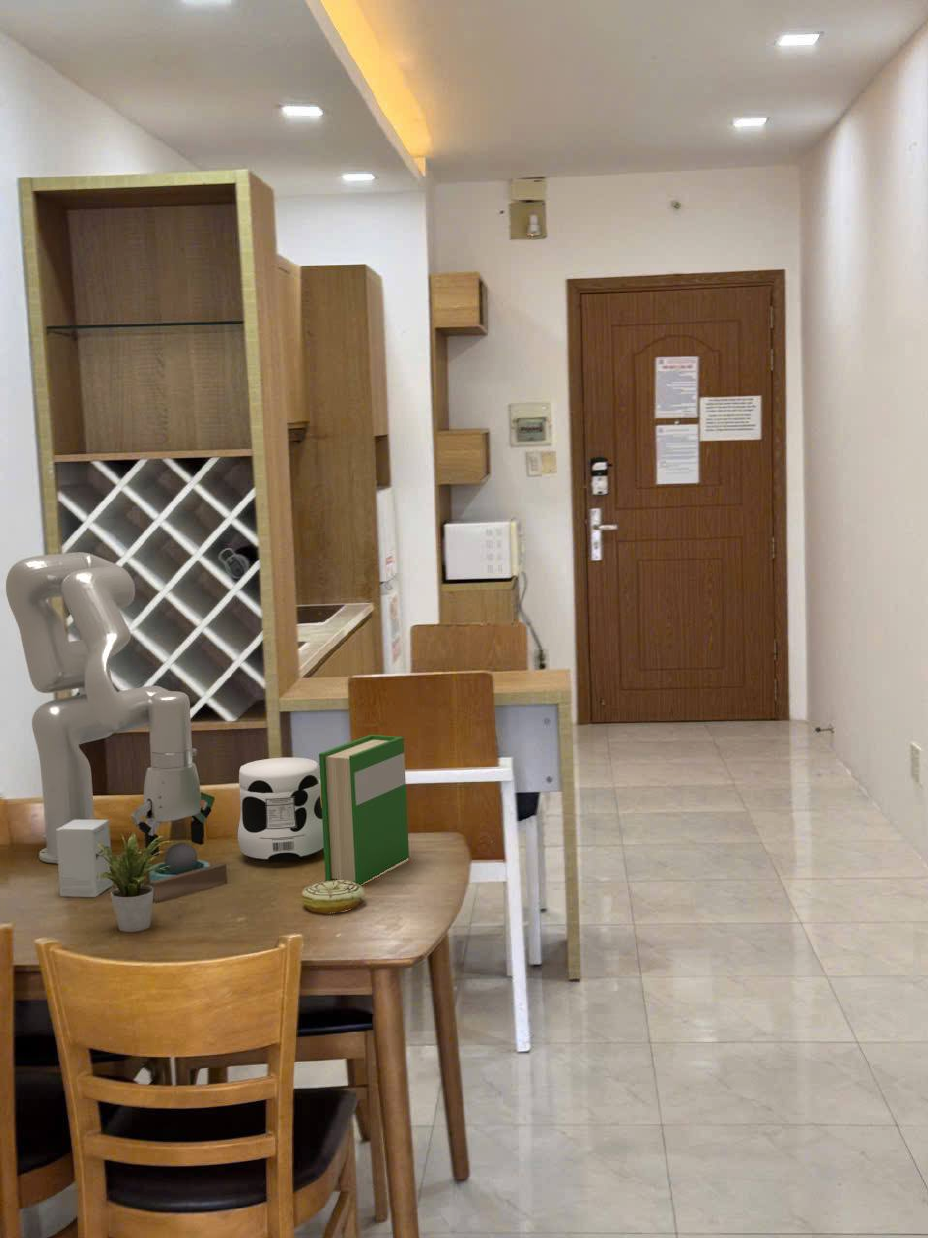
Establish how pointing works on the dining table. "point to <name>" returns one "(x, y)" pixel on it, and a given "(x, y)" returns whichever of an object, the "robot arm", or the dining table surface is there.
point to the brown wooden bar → (189, 882)
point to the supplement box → (83, 857)
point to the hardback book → (364, 808)
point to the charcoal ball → (180, 858)
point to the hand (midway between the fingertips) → (175, 848)
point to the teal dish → (165, 874)
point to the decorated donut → (332, 896)
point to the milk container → (280, 810)
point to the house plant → (132, 884)
